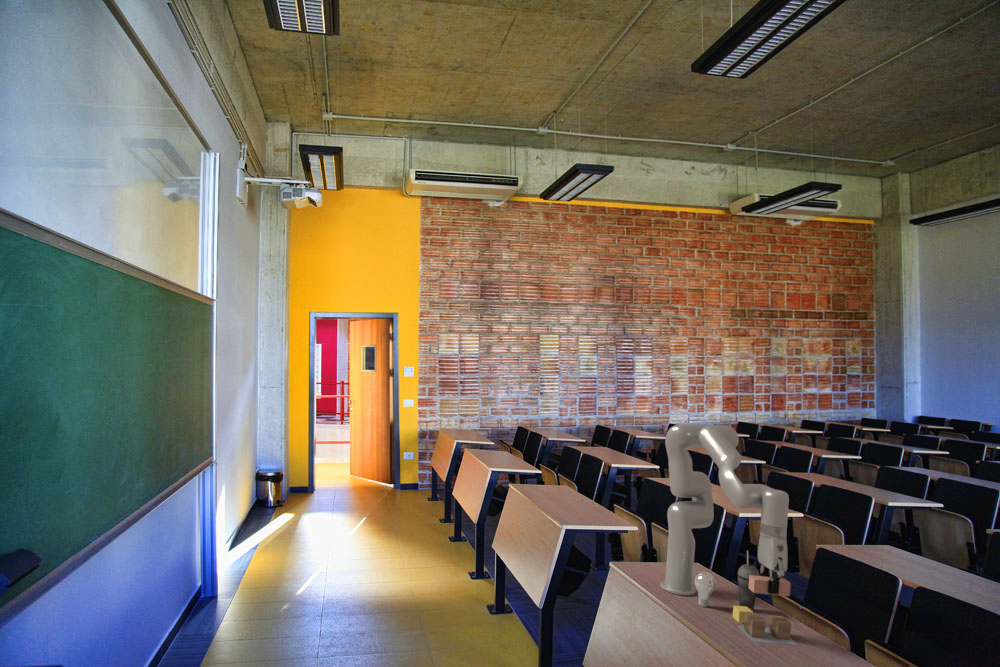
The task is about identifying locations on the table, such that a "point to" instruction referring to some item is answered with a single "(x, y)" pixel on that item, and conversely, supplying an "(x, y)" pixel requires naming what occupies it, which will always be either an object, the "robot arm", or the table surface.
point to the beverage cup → (746, 585)
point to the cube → (740, 613)
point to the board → (768, 638)
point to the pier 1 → (754, 625)
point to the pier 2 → (780, 627)
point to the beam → (761, 585)
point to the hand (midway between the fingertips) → (769, 589)
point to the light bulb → (704, 587)
